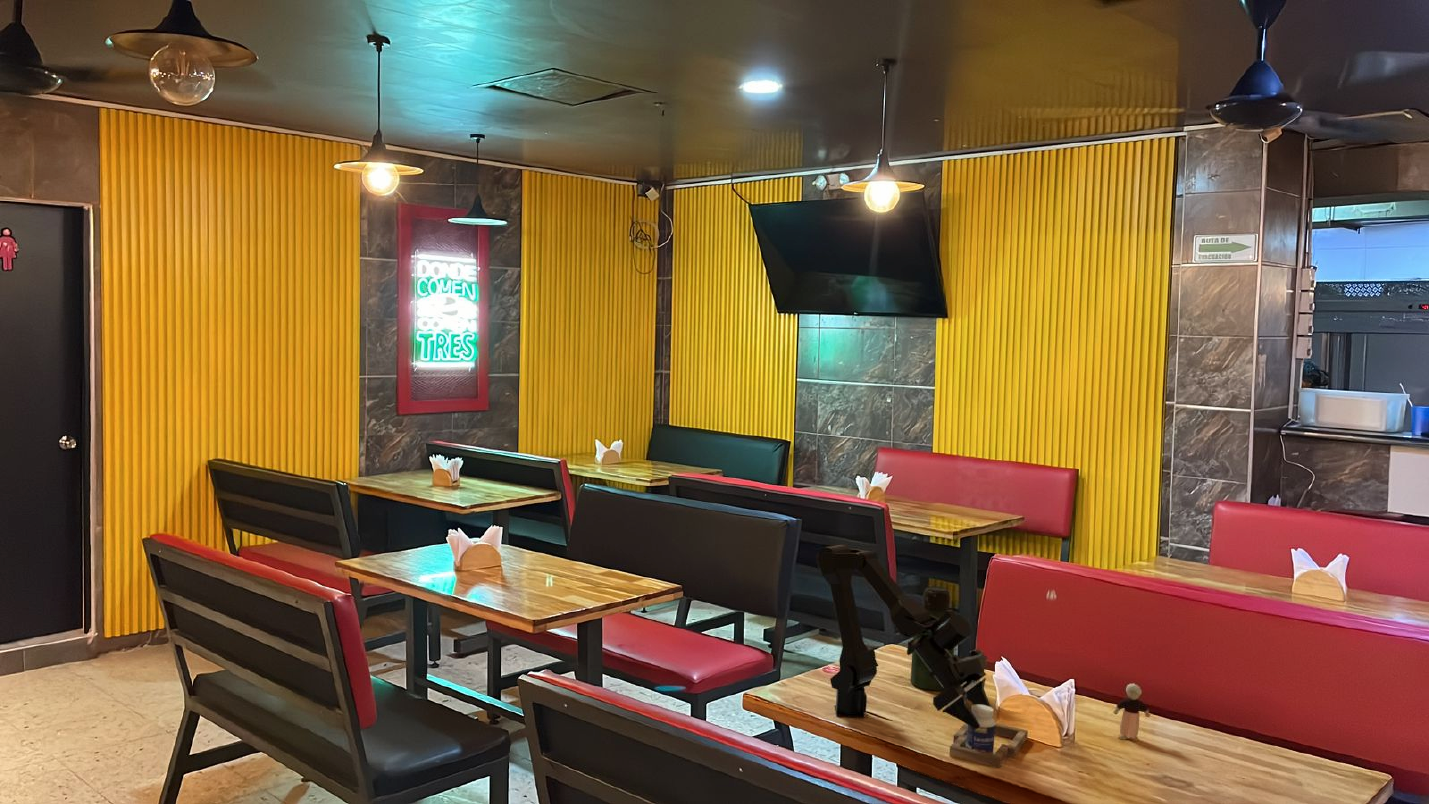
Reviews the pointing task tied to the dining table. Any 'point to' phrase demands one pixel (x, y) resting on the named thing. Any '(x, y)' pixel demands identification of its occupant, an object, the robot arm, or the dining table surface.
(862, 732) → the dining table surface
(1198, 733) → the dining table surface
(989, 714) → the pill bottle
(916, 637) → the dark green bottle
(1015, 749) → the keyhole frame
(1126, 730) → the grandmother figurine
